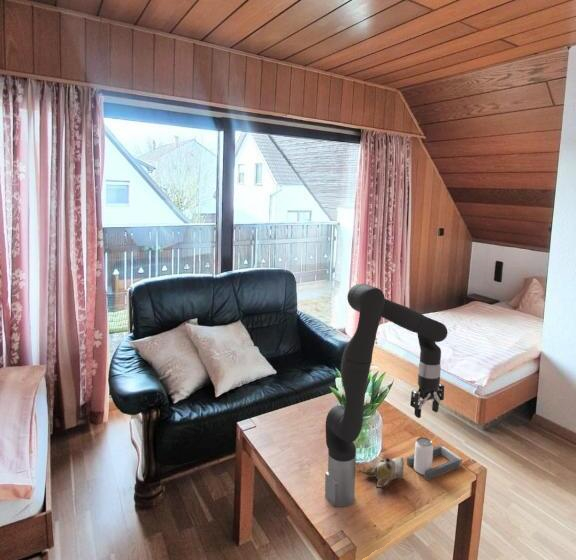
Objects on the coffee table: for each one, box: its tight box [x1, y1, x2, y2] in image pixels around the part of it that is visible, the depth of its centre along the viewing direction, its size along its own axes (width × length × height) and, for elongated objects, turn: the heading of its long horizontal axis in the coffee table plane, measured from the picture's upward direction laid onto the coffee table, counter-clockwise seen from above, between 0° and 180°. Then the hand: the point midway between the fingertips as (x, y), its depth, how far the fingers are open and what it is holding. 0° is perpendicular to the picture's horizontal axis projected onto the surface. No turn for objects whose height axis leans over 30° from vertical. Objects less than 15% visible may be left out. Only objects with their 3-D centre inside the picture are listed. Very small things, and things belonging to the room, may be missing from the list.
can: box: [413, 436, 434, 476], centre depth 162 cm, size 6×6×12 cm
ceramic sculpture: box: [361, 456, 405, 489], centre depth 158 cm, size 11×9×15 cm
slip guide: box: [406, 444, 463, 481], centre depth 166 cm, size 18×10×3 cm, turn 118°
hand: (426, 414), depth 159 cm, fingers open, 8 cm apart
